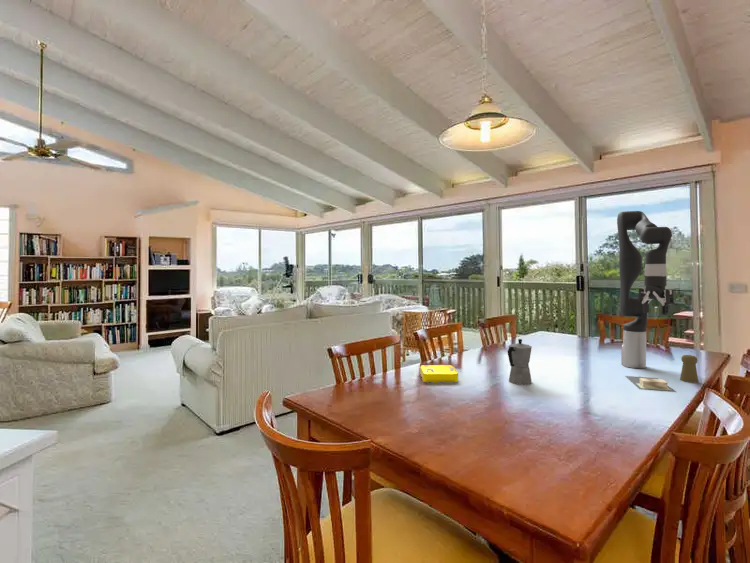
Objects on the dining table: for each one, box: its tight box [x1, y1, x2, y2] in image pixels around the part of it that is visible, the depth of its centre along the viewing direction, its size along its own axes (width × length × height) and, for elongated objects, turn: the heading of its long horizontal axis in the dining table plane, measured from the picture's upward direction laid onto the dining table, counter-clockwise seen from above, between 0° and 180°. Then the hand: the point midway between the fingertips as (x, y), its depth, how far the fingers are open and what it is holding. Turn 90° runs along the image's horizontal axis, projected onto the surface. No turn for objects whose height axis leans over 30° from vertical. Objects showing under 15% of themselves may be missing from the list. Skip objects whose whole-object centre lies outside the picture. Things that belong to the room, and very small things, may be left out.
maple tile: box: [640, 378, 668, 389], centre depth 153 cm, size 8×4×2 cm, turn 71°
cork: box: [679, 354, 699, 384], centre depth 161 cm, size 6×6×11 cm
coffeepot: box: [507, 338, 533, 385], centre depth 163 cm, size 15×9×18 cm, turn 129°
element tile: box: [419, 364, 459, 384], centre depth 171 cm, size 15×15×5 cm
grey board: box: [625, 375, 677, 393], centre depth 158 cm, size 20×12×1 cm, turn 161°
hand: (655, 313), depth 163 cm, fingers open, 8 cm apart
